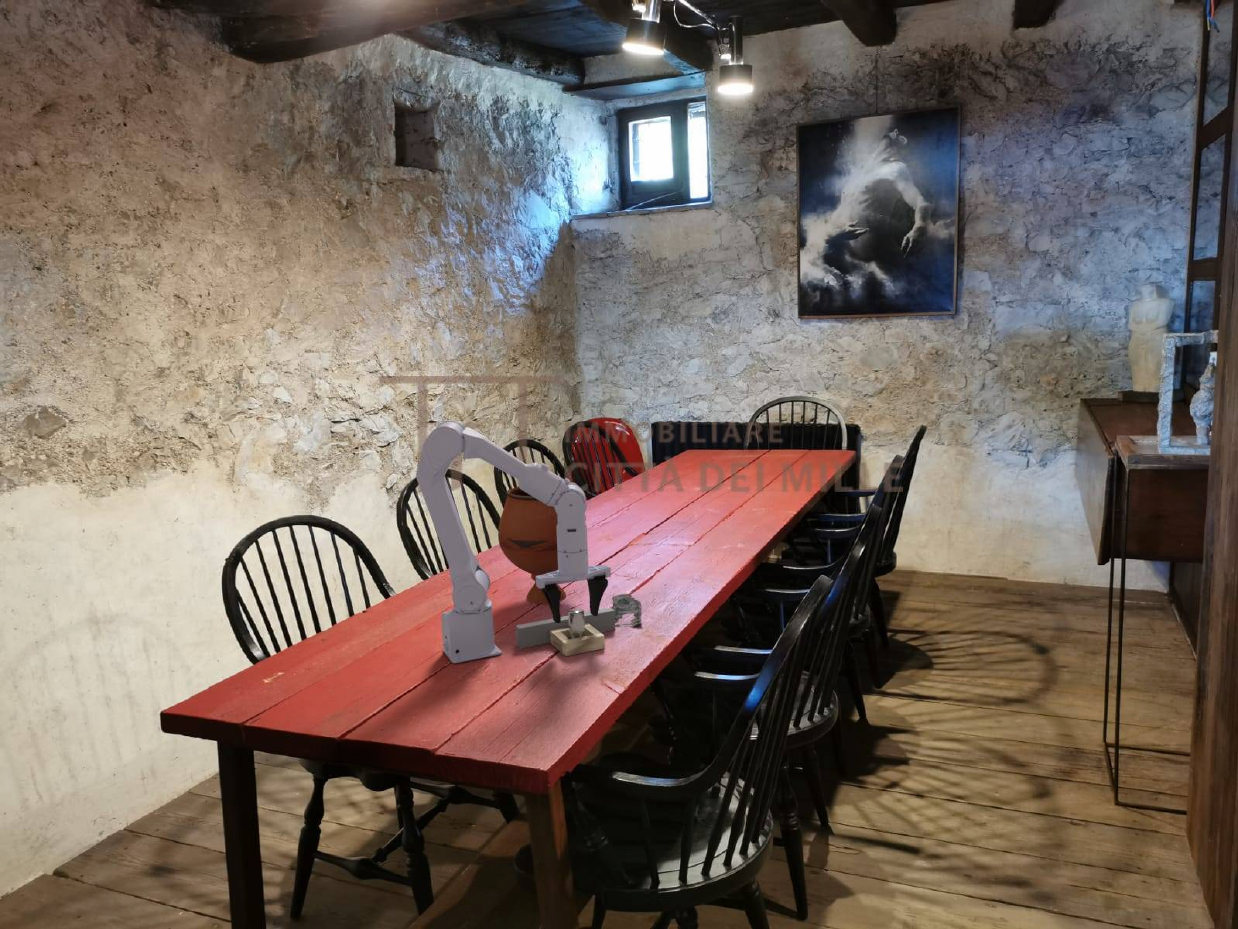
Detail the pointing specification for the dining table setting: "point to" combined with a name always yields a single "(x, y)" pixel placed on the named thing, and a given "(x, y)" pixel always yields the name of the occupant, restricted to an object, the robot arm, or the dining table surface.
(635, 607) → the driftwood
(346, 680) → the dining table surface
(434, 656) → the dining table surface
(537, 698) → the dining table surface
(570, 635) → the dowel
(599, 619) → the backstop wall
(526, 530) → the goblet
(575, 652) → the socket block
